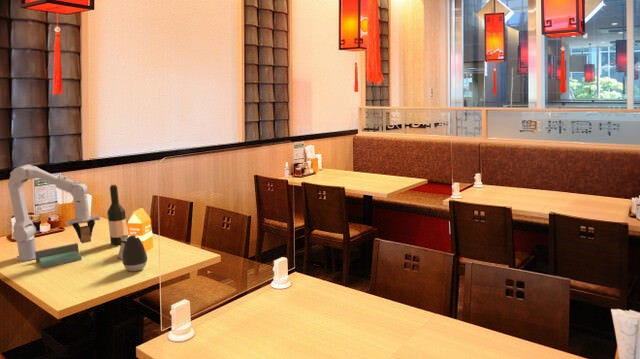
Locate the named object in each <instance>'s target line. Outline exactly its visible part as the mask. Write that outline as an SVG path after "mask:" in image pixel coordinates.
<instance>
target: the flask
mask: <svg viewBox="0 0 640 359" xmlns="http://www.w3.org/2000/svg"><path fill="white" fill-rule="evenodd" d="M127 235H128V234H127ZM127 235H123V236H121V237H120V238H121V240H126V239H127V237H128V236H127ZM124 244H125V243H121V245H120V247H119V251H118V255H117V259H121V260H122V254H123V248H124Z"/></svg>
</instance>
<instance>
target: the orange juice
mask: <svg viewBox="0 0 640 359" xmlns="http://www.w3.org/2000/svg"><path fill="white" fill-rule="evenodd" d="M126 225H127V235H128V237H129V236H131V235H135V236H137V237H138V238H139V239H140V240H141V242H142V243H143V245H144V248H145V251H146V253H147V252H149V251H150V250H152V249H153V248H154V241H153V228H152V219H151V217H150V215H148V214H147V212H146V211H145V209H144V208H143V207H141V208H138V209H137V210H134V211H132V214H131V216H130V218H129V219H128V222H126Z"/></svg>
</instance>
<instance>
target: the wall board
mask: <svg viewBox="0 0 640 359" xmlns="http://www.w3.org/2000/svg"><path fill="white" fill-rule="evenodd" d="M35 257H36V259H35V263H39V264H40V266H41V267H42V269H45V268H50V267H54V266H58V265H64V264H68V263H72V262H76V261H77V260H78V261H82V260H83V258H82V255H81V253H80V251H79V243H71V244H66V245H60V246H56V247H55V246H54V247H51V248H45V249H42V250H41V249H40V250H36V251H35ZM63 263H64V264H63Z"/></svg>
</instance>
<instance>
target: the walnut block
mask: <svg viewBox="0 0 640 359" xmlns="http://www.w3.org/2000/svg"><path fill="white" fill-rule="evenodd" d="M80 234H81V239H79V242H80V243H81V244H85V243H91V242H92V237H91V235H90V227H89V226H88V225H84V226H83V225H82V226H80Z"/></svg>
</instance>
